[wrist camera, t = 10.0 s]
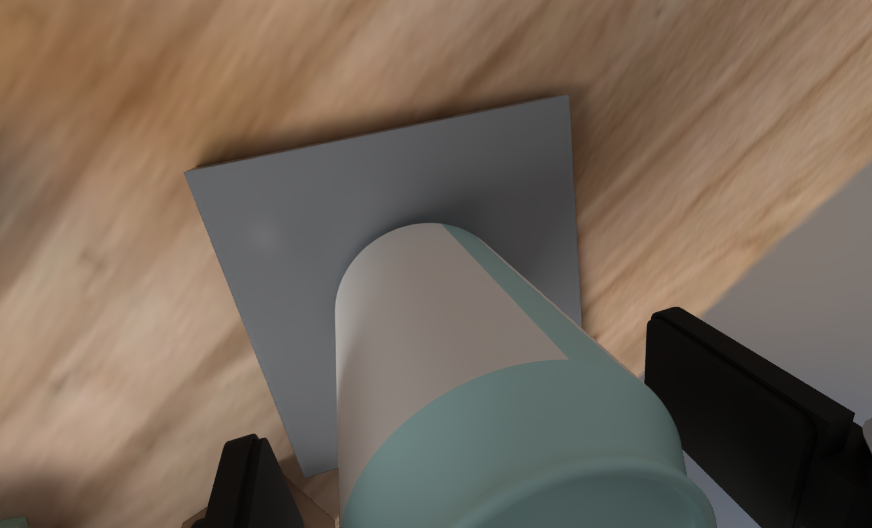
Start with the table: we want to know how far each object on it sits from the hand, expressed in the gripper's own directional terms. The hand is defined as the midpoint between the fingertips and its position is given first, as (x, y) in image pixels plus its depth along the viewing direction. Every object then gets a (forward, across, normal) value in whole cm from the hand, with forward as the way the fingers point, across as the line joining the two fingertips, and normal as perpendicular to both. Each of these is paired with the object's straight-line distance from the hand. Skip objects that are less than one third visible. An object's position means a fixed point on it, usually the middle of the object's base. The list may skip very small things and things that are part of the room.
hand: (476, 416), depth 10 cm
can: (+8, 0, +1) cm, 8 cm away
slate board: (+9, 0, +1) cm, 9 cm away
